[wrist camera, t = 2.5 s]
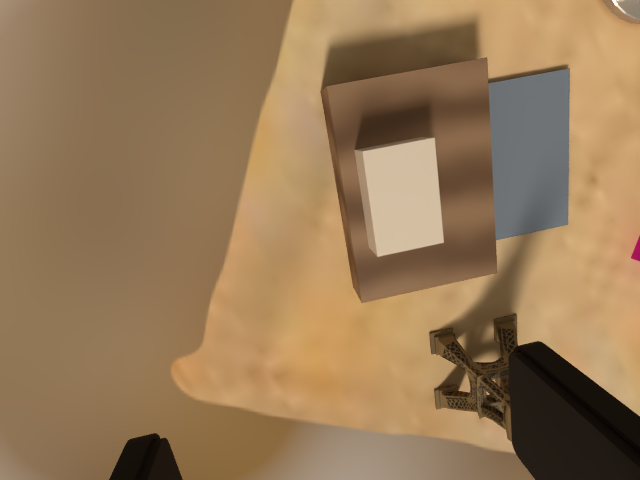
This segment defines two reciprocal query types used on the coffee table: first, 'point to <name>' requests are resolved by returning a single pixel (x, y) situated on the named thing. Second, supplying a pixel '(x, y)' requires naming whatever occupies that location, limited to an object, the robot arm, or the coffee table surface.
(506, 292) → the coffee table surface
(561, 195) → the mat
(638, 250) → the toy block
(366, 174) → the beige rectangular block
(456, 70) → the deck
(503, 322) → the eiffel tower
